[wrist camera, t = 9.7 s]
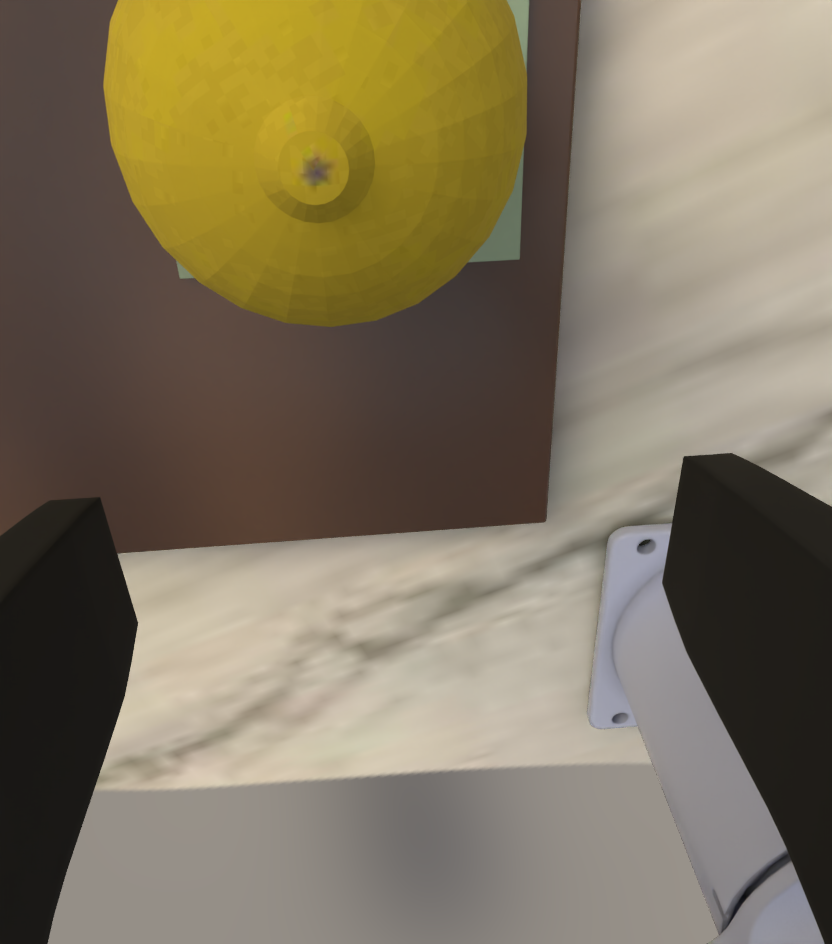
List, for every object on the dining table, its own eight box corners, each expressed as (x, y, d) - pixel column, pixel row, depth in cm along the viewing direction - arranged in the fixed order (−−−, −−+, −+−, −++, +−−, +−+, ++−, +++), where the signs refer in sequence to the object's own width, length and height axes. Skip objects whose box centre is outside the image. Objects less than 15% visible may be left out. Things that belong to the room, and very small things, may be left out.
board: (580, -237, 13) (603, -259, 12) (537, 497, 21) (548, 528, 20) (-674, -201, 12) (-782, -222, 11) (-226, 551, 20) (-261, 586, 19)
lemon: (275, 278, 16) (224, 495, 9) (107, -8, 13) (-140, 9, 7) (524, 153, 15) (666, 294, 8) (400, -183, 12) (464, -373, 6)
